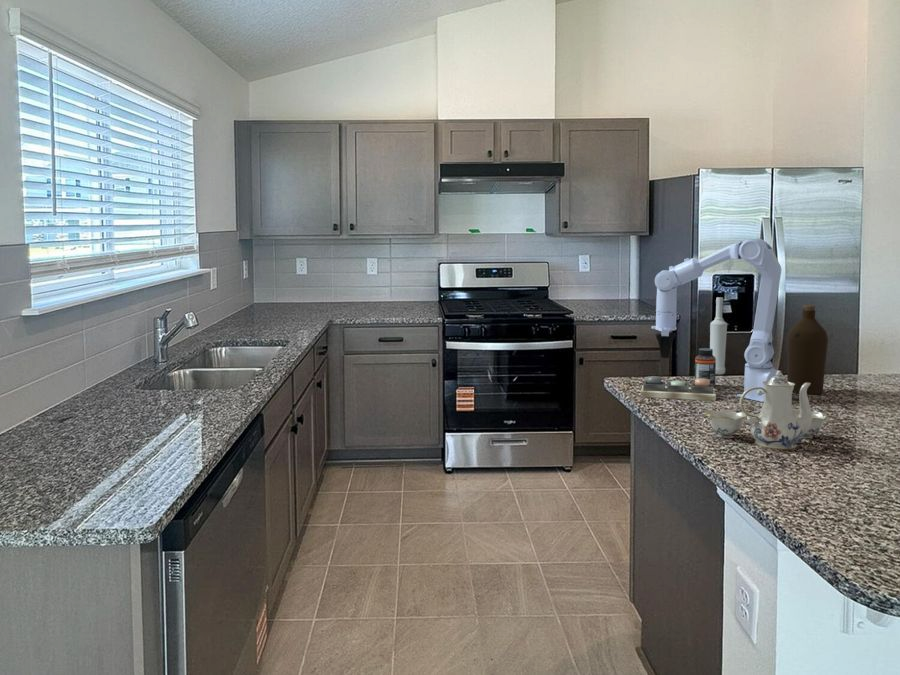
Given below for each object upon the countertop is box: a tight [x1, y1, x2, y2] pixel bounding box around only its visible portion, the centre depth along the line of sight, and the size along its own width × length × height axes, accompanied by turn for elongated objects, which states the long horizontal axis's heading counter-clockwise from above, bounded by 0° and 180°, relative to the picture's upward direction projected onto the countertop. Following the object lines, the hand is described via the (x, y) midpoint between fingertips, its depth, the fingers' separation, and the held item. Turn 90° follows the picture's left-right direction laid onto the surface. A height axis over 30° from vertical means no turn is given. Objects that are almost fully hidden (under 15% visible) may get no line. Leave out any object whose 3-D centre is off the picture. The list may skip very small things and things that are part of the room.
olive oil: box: [786, 304, 829, 396], centre depth 221 cm, size 11×11×25 cm
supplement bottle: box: [694, 347, 716, 388], centre depth 232 cm, size 6×6×11 cm
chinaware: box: [701, 370, 835, 450], centre depth 169 cm, size 28×17×17 cm, turn 92°
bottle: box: [709, 296, 728, 375], centre depth 253 cm, size 5×5×25 cm
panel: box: [640, 380, 717, 402], centre depth 219 cm, size 20×10×3 cm, turn 73°
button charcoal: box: [646, 375, 663, 385], centre depth 220 cm, size 4×4×2 cm
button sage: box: [670, 380, 686, 386], centre depth 219 cm, size 4×4×2 cm
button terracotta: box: [694, 378, 710, 387], centre depth 217 cm, size 4×4×2 cm
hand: (664, 357), depth 227 cm, fingers closed
